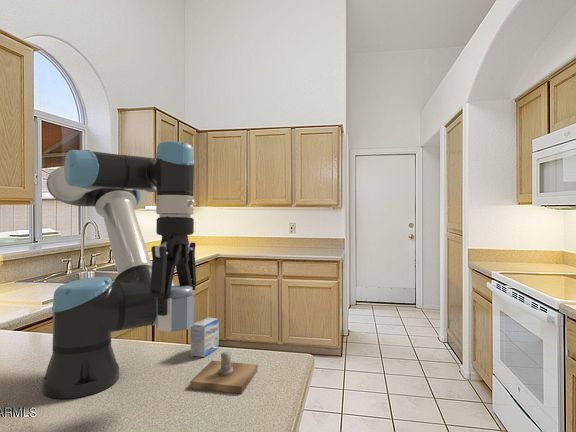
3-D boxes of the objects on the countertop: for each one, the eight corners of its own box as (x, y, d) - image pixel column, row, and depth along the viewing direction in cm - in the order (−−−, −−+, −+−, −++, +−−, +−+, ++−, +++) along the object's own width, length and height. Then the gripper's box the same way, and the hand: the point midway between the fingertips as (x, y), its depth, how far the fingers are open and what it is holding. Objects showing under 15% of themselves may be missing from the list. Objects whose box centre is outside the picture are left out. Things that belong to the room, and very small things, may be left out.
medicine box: (204, 358, 99) (204, 325, 99) (190, 356, 100) (190, 324, 100) (219, 348, 106) (219, 318, 106) (205, 346, 108) (205, 316, 108)
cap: (150, 330, 74) (150, 290, 75) (169, 321, 81) (169, 284, 81) (181, 332, 73) (182, 292, 73) (198, 322, 80) (198, 286, 80)
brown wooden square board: (190, 388, 81) (190, 361, 81) (212, 366, 93) (212, 343, 93) (241, 393, 79) (242, 366, 79) (257, 370, 91) (257, 346, 91)
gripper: (165, 215, 67) (164, 342, 67) (212, 216, 86) (211, 314, 86) (129, 215, 68) (128, 339, 68) (183, 216, 88) (182, 312, 88)
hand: (174, 325), depth 77 cm, fingers closed on cap, 7 cm apart
